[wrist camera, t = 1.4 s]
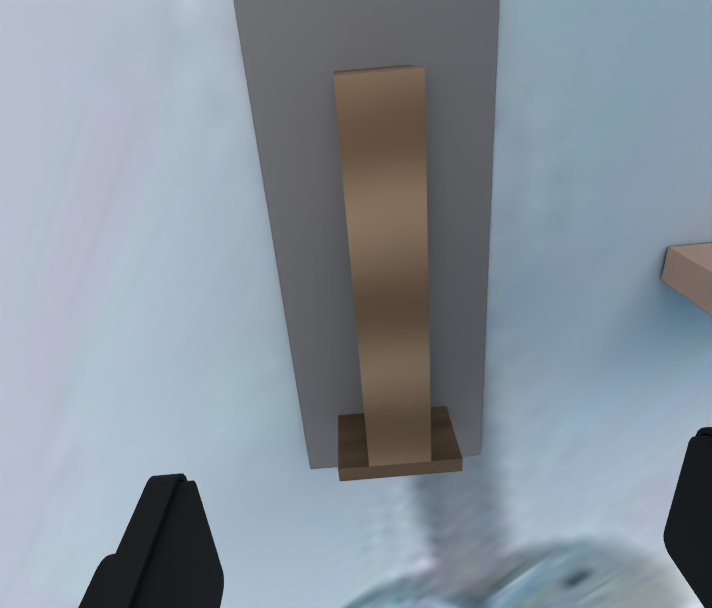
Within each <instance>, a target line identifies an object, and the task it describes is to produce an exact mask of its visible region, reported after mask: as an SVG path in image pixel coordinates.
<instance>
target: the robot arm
mask: <svg viewBox="0 0 712 608" xmlns="http://www.w3.org/2000/svg"><path fill="white" fill-rule="evenodd" d="M663 537H664V543H665V547H666V549H667V552H668V553H669V555H670V557H671V558H672V560H673V561H674V563H675V564H676V566H677V567H678V569H679V570H680V572H681V573H682V575H683V576H684V578H685V579H686V581H687V582H688V584H689V585H690V587H691V588H692V590H693V591H694V593H695V594H696V596H697V597H698V599H699V600H700V602H701V603H702V605H703V606H704V608H712V427H705V428H701V429H700V430H698V432H697V434H696V436H695V437H692V438H691V439H690V441H689V443H688V447H687V451H686V454H685V458H684V461H683V465H682V469H681V472H680V476H679V480H678V483H677V487H676V490H675V494H674V498H673V501H672V505H671V508H670V512H669V516H668V519H667V523H666V526H665V530H664V535H663ZM223 589H224V575H223V570H222V567H221V564H220V560H219V557H218V554H217V550H216V547H215V544H214V541H213V537H212V534H211V531H210V527H209V524H208V521H207V518H206V514H205V511H204V508H203V504H202V501H201V498H200V495H199V491H198V488H197V485H196V483H195V481H187V479H186V476H185V475H184V474H170V475H159V476H152V477H151V478H149V480H148V482H147V483H146V486H145V488H144V490H143V493H142V495H141V497H140V499H139V502H138V504H137V506H136V508H135V511H134V513H133V515H132V517H131V520H130V522H129V524H128V526H127V529H126V531H125V533H124V535H123V538H122V540H121V542H120V544H119V547H118V549H117V551H116V553H115V554H111V555H108V556H106V557H105V558H104V559H103V560H102V561H101V563H100V564H99V566H98V568H97V569H96V571H95V573H94V576H93V578H92V580H91V582H90V584H89V586H88V588H87V591H86V593H85V595H84V597H83V599H82V601H81V603H80V606H79V608H220V605H221V600H222V595H223Z"/></svg>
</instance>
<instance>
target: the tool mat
mask: <svg viewBox="0 0 712 608" xmlns="http://www.w3.org/2000/svg"><path fill="white" fill-rule="evenodd" d="M234 6H235V12H236V18H237V25H238V31H239V37H240V43H241V49H242V55H243V61H244V67H245V73H246V79H247V86H248V92H249V98H250V104H251V110H252V116H253V122H254V128H255V134H256V140H257V146H258V153H259V159H260V165H261V171H262V177H263V183H264V189H265V195H266V201H267V207H268V213H269V220H270V226H271V232H272V238H273V244H274V250H275V256H276V262H277V268H278V274H279V280H280V287H281V293H282V299H283V305H284V311H285V317H286V323H287V329H288V335H289V341H290V348H291V354H292V360H293V366H294V372H295V378H296V384H297V390H298V396H299V402H300V408H301V415H302V421H303V427H304V433H305V439H306V445H307V451H308V457H309V463H310V469H319V468H331V467H338V415H348V414H359V413H364V404H363V393H362V383H361V372H360V361H359V350H358V339H357V328H356V318H355V307H354V296H353V285H352V274H351V263H350V253H349V242H348V231H347V220H346V209H345V199H344V188H343V177H342V166H341V155H340V144H339V134H338V123H337V112H336V101H335V90H334V79H333V74H334V71H344V70H355V69H366V68H377V67H388V66H399V65H414V66H419V67H424V68H425V114H426V173H427V232H428V292H429V351H430V407H441V406H447V410H448V413H449V416H450V420H451V423H452V426H453V429H454V433H455V436H456V439H457V442H458V446H459V449H460V452H461V455H462V456H473V455H480V452H481V428H482V404H483V380H484V356H485V332H486V309H487V285H488V261H489V237H490V213H491V189H492V165H493V141H494V117H495V93H496V69H497V46H498V22H499V0H234Z"/></svg>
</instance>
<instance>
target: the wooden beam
mask: <svg viewBox="0 0 712 608" xmlns="http://www.w3.org/2000/svg"><path fill="white" fill-rule="evenodd" d="M333 79H334V90H335V101H336V112H337V123H338V134H339V144H340V155H341V166H342V177H343V188H344V199H345V209H346V220H347V231H348V242H349V253H350V263H351V274H352V285H353V296H354V307H355V318H356V328H357V339H358V350H359V361H360V372H361V383H362V393H363V404H364V413H359V414H348V415H338V471H339V479H340V481H349V480H361V479H372V478H384V477H396V476H408V475H420V474H432V473H444V472H455V471H462V455H461V452H460V449H459V446H458V442H457V439H456V436H455V433H454V429H453V426H452V423H451V420H450V416H449V413H448V410H447V406H441V407H430V351H429V292H428V232H427V173H426V114H425V68H424V67H419V66H414V65H399V66H388V67H377V68H366V69H355V70H344V71H334V74H333Z"/></svg>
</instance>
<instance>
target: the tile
mask: <svg viewBox="0 0 712 608" xmlns="http://www.w3.org/2000/svg"><path fill="white" fill-rule="evenodd" d="M661 280H662V281H663V282H665V283H666V284H667V285H669V286H670V287H672V288H673V289H674V290H676V291H677V292H679V293H680V294H681V295H683V296H684V297H686V298H687V299H689V300H690V301H691V302H693V303H694V304H696V305H697V306H698V307H700V308H701V309H703V310H704V311H705V312H707V313H708V314H710V315H711V316H712V243H704V244H692V245H681V246H670V247H668V250H667V255H666V260H665V264H664V269H663V274H662V278H661Z"/></svg>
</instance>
